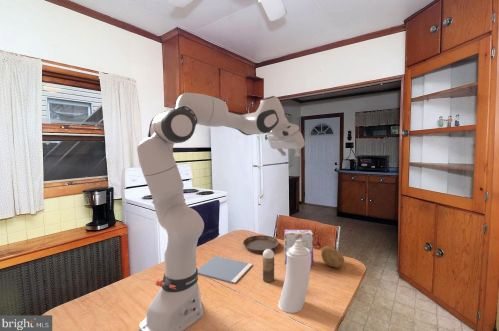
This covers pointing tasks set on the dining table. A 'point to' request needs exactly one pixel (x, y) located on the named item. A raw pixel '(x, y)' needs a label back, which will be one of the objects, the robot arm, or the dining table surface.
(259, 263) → the dining table surface
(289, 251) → the spray can
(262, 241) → the plant saucer
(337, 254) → the potato
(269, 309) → the dining table surface
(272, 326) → the dining table surface
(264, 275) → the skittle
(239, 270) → the mat
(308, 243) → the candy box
